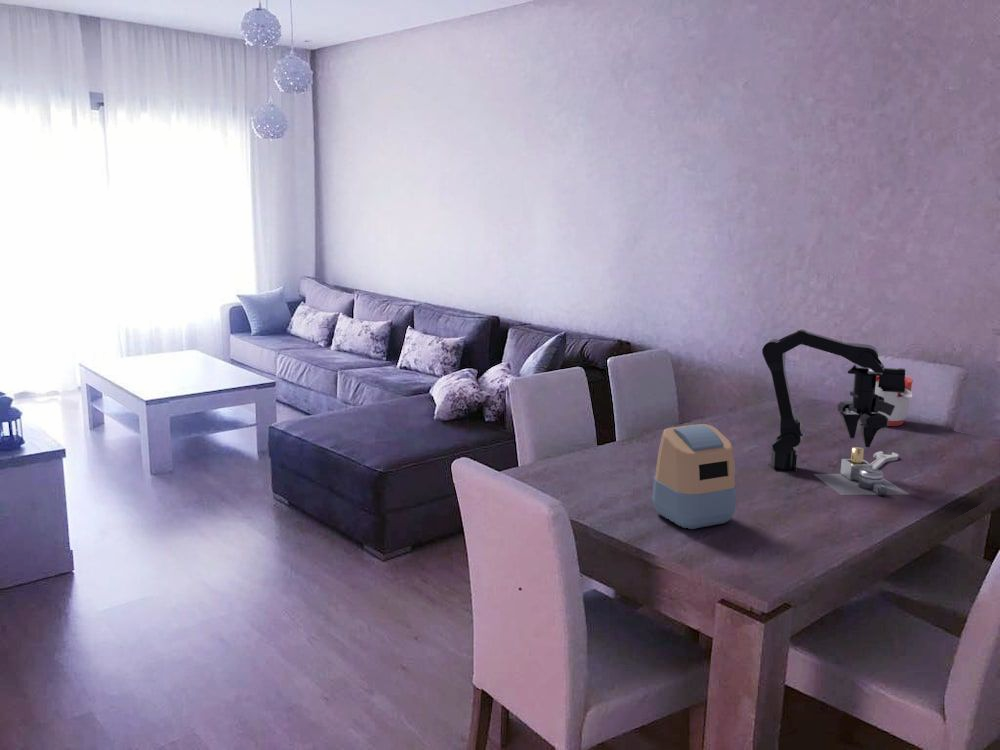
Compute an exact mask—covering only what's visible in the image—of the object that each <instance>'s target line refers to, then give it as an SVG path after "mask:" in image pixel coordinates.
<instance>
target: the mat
mask: <svg viewBox="0 0 1000 750" xmlns="http://www.w3.org/2000/svg"><path fill="white" fill-rule="evenodd" d="M813 476H815V477H816V478H817V479H819V480H820V481H822V482H823V483H824V484H825V485H826V486H828V487H829V488H831V489H832V490H833V491H835V492H836V493H837V494H839V495H840V496H877V495H879V494H877V493H876V492H875V491H870V490H865V489H862V488H860V487H858V482H859V481H857V480H850V479H848V478H847V477H846V476H844V475H843V474H841V473H813ZM882 485H883V486H884V487H886V488H887V495H886V496H888V495H891V496H893V495H894V496H895V495H896V496H897V495H901V496H902V495H909V493H908V492H907V491H906V490H903V489H902V488H900V487H898V486H897V485H896V484H894V483H892V481H890V480H887V479H886V478H884V477H883V480H882ZM879 496H880V495H879Z"/></svg>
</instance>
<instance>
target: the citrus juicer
mask: <svg viewBox="0 0 1000 750" xmlns="http://www.w3.org/2000/svg"><path fill="white" fill-rule="evenodd" d="M881 375H882V374H881ZM913 382H914V379H913V378H910V377H907V376H905V390H904V393H897V392H885V391H882V389H881V387H878V385H879V376H877V377H876V388H875V394H877V395H878V396H881V397H883V398H884V401H885V402H887V403H890V404H892V405H894V406H895V408H894V410H893V412H892V414H891V416H889V415H887V414H886V413H883V412H880V411H878V413H880V414H882V415H884V416H886V417H887V418H888V426H887V427H898V426H902V425H903V423H904V422H905V421H906V418H907V415H908V413H909V410H910V404H911V399H912V397H913V396H914V395H913V392H912V387H913Z"/></svg>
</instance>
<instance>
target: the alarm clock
mask: <svg viewBox="0 0 1000 750" xmlns="http://www.w3.org/2000/svg"><path fill="white" fill-rule="evenodd" d="M660 439H661V440H660V442H659V443H660V444H659V447H658V453H657V461H656V468H655V475H654V477H653V486H652V499H651V502H652V505H653V507H654V508H653V509H655V510H656V511H657V513H658V514H659V515H660V516H661V517H663V518H665V519H667V520H668V519H669V521H670V522H672V523H673V522H674V524H675V525H677V526H679V527H680V526H681V527H680V528H683V529H686V528H688V529H687V530H695V529H698V528H699V529H700V528H704V527H710V526H714V525H715V526H717V525H723V524H725V523H727V522H729V521H730V520H731V519H732V518H733V516H734V513H735V511H736V498H737V494H736V493H737V485H736V479H735V478H736V475H735V474H736V473H735V471H736V470H735V454H734V448H733V444H732V443H731V441H730V440H729V439H728V438H727V437H726V436H724V435H723V434H722V432H720V431H719V430H718V429H717V428H716V427H714V426H713V425H710V424H706V423H698V424H697V423H696V424H690V425H682V426H681V425H680V426H674V427H668V428H664V430H663V431H662V433H661V438H660Z"/></svg>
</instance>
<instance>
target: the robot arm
mask: <svg viewBox="0 0 1000 750" xmlns="http://www.w3.org/2000/svg"><path fill="white" fill-rule="evenodd" d="M802 345H803V346H806V347H809V348H813V349H815V350H820V351H823V352H825V353H826V352H827V353H829V354H832V355H836V356H840V357H842V358H844V359H846V360H848V361H849V362H851V363H853V366H852V367H850V368H849V369H848V370H847V373H848V374H849V375H851V374H852V375H854V378H853V386H852V387H853V388H852V390H853V391H851V390H850V392H849V395H850V396H852V399H851V400H852V401H840V402H839V403H838V404H837V412H839V416H840V417H841V418H842V421H843V422H842V423H844V426H845V428H846V429H845V430H846V431H847V433H848V436H849V438H850V439H855V436H856V432H857V429H858V423H859V420H860V424H859V426H860V431H861V435H862V440H863V443H864V447H865V448H870V447H871V445H872V442H873V440H874V438H875V436H876V434H877V433H878V431H879V430H881V429H884V428H885V427H886V426H887V427H889V426H888V418H887V417H886V416H884V415H882V414H880V413H878V411H880V412H883V413H886V414H887V415H889V416H891V414H892V412H893V410H894V408H895V406H894V405H892V404H890V403H887V402H885V401H884V398H883V397H881V396H878V395H877V394H875V388H876V377H877V376H879V385H878V387H881V389H882V391H885V392H897V393H904V390H905V377H906V369H905V368H902V367H900V368H894V367H893V368H892V367H885V365H884V363H882V361H881V359H880V358H879V351H878V349H877V347H875V346H874V345H872V344H865V343H855V342H854V343H852V342H851V343H850V342H845V341H842V340H838V339H834V338H831V337H828V336H824V335H821V334H817V333H814V332H811V331H807V330H805V329H803V328H802V329H797V330H796V331H795V332H793V333H790V334H788V335H786V336H783V337H782V338H780V339H777V338H773V339H770V340H769V341H767V342H766V343H765V344H764V346H763V348H762V351H761V353H762V356H763V358H764V362H765V364H766V365H767V367H768V369H769V371H770V373H771V378H772V383H773V387H774V392H775V396H776V397H775V398H776V401H777V402H776V403H777V406H778V407H777V408H778V411H779V416H780V424H779V427H780V428H779V431H780V433H779V435H778V436H776V438H775V439H774V442H773V443H772V445H771V450H770V451H771V452H770V463H768V466H769V467H770V468H771V469H772V470H773V471H774V472H797V469H796V468H797V462H798V454H796V453H797V450H796V449H795V448H796V447H798V446H799V445H800V444H801V441H802V439H803V436H804V434H805V431H806V430H805V428H804V426H803V418H801V417H800V418H797V416H796V414H795V411H794V410H795V409H794V407H793V401H792V396H791V390H790V386H789V382H788V377H787V372H786V353H787V352H789V351H790V350H792V349H794V348H796V347H798V346H802ZM869 369H870V370H871V371H870V370H869ZM881 374H882V375H881Z"/></svg>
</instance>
